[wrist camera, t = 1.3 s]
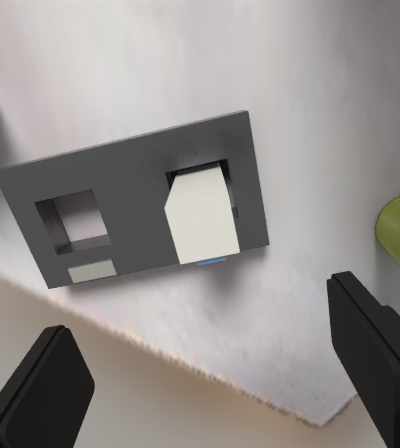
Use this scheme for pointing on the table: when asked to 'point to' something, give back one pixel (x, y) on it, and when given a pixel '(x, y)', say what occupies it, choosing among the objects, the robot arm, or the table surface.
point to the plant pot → (390, 229)
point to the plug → (201, 216)
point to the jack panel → (130, 197)
